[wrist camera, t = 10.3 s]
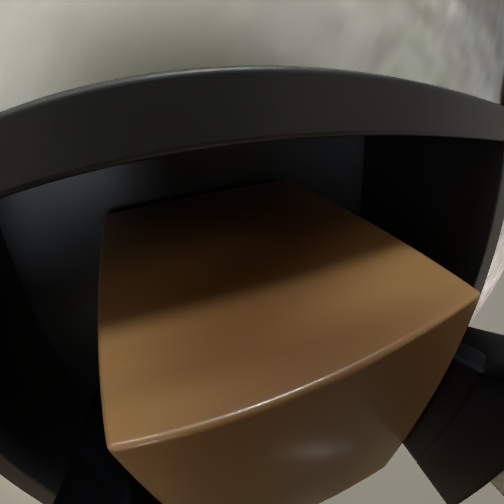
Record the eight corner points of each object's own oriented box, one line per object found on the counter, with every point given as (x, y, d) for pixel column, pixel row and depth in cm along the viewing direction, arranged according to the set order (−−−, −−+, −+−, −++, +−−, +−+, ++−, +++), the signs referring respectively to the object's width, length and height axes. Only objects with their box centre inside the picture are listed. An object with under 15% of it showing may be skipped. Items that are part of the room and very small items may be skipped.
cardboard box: (290, 178, 9) (483, 291, 4) (288, 339, 11) (385, 465, 7) (102, 214, 7) (103, 450, 2) (155, 379, 10) (210, 543, 5)
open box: (366, 86, 9) (519, 111, 5) (343, 340, 15) (417, 421, 10) (-31, 143, 5) (-170, 219, 1) (88, 418, 11) (108, 538, 6)
